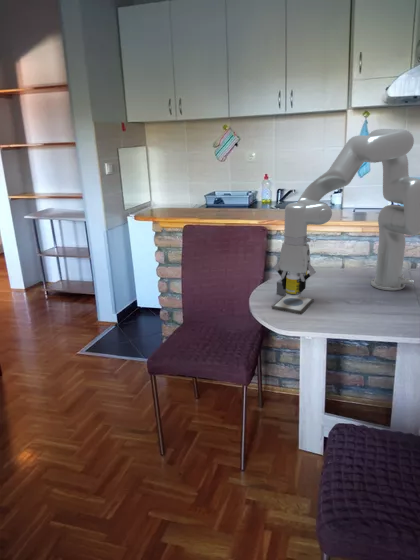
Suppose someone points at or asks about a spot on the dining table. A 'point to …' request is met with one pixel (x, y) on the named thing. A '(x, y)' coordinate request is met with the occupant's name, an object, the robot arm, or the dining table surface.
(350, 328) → the dining table surface
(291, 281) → the supplement bottle
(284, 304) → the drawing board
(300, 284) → the robot arm
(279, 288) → the button housing
